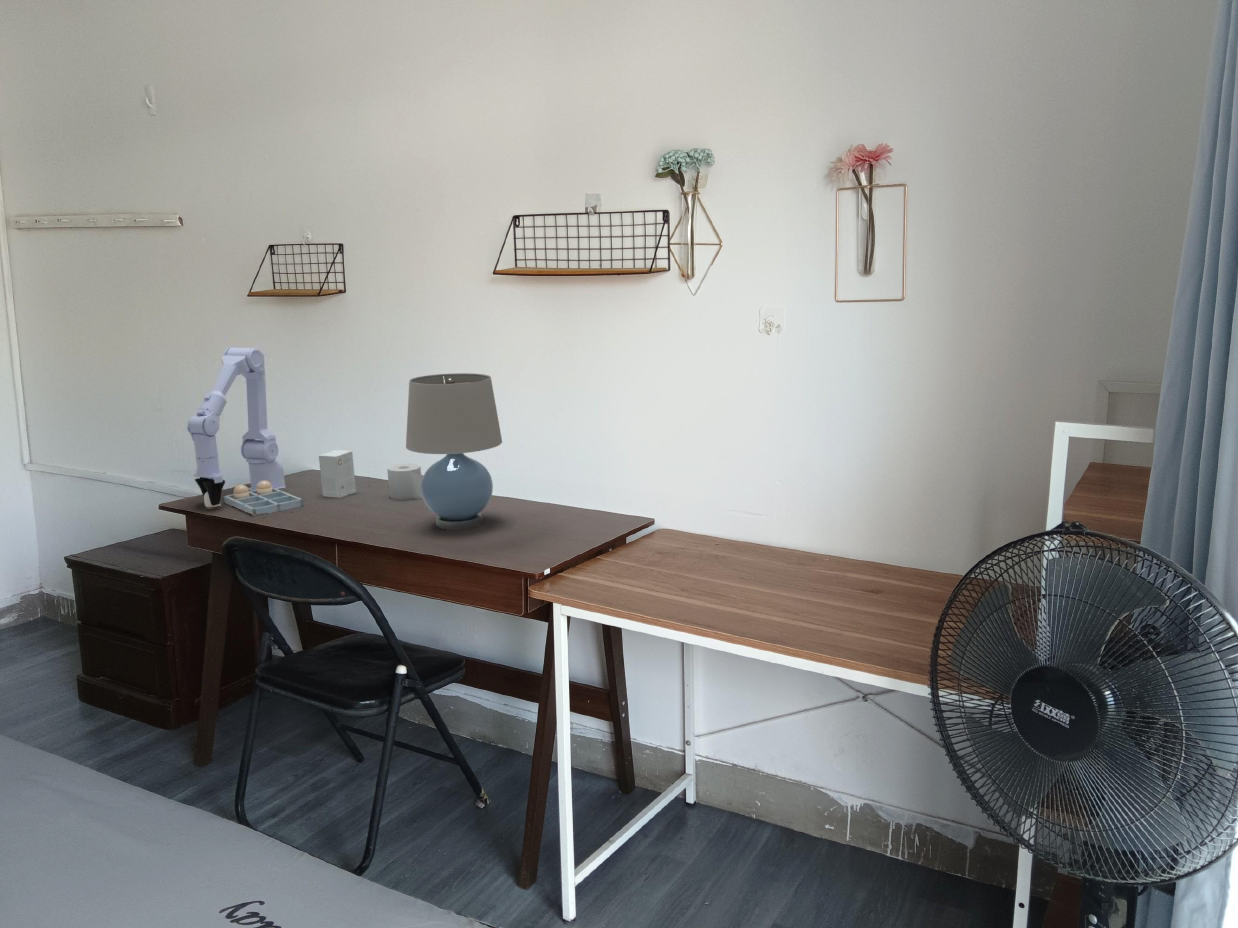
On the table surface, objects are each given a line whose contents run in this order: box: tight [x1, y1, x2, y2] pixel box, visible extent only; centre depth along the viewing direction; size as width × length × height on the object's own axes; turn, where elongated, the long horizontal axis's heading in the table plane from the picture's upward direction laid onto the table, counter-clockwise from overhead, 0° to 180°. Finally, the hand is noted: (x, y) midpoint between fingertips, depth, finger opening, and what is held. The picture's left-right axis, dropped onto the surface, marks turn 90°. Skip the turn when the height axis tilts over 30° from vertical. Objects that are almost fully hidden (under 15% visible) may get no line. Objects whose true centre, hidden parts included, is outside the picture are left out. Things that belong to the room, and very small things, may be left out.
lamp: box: [405, 372, 503, 531], centre depth 243 cm, size 25×25×39 cm
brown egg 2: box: [257, 480, 272, 495], centre depth 276 cm, size 4×4×5 cm
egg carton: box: [223, 487, 305, 514], centre depth 269 cm, size 14×21×2 cm
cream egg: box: [203, 492, 222, 508], centre depth 268 cm, size 4×4×5 cm
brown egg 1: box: [232, 484, 250, 500], centre depth 271 cm, size 4×4×5 cm
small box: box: [318, 449, 357, 499], centre depth 278 cm, size 8×6×13 cm
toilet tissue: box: [387, 463, 424, 501], centre depth 277 cm, size 9×13×9 cm
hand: (212, 503), depth 268 cm, fingers closed on cream egg, 4 cm apart
